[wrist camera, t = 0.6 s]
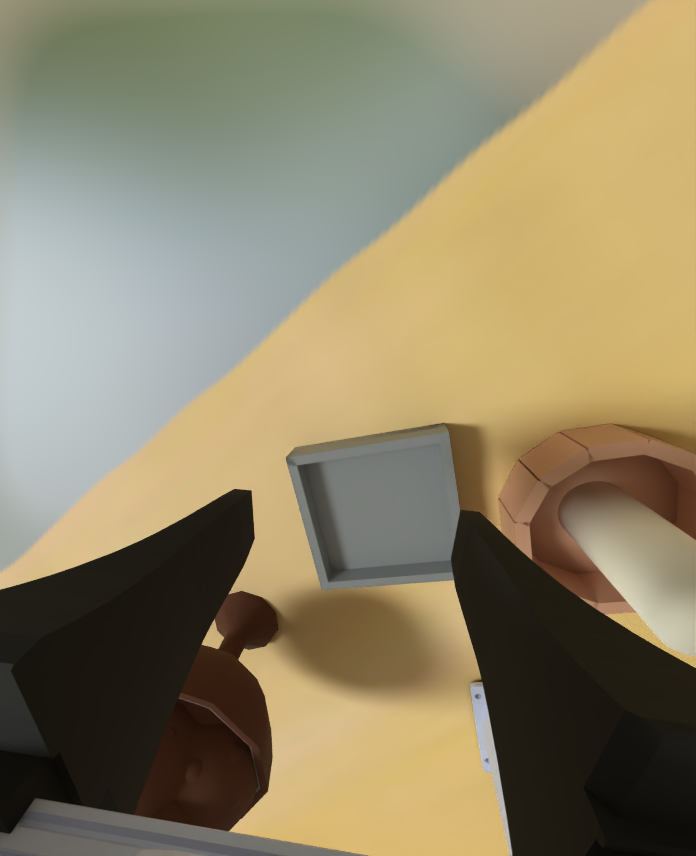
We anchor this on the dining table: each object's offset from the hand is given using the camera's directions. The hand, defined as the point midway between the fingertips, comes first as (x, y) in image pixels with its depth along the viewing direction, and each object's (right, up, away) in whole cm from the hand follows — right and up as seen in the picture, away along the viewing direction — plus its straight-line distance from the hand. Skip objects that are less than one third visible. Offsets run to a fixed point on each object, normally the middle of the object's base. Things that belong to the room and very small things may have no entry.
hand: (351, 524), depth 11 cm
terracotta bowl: (+15, -2, +10) cm, 18 cm away
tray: (+2, -2, +11) cm, 12 cm away
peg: (+15, -2, +9) cm, 18 cm away
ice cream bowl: (-9, -13, +16) cm, 22 cm away
